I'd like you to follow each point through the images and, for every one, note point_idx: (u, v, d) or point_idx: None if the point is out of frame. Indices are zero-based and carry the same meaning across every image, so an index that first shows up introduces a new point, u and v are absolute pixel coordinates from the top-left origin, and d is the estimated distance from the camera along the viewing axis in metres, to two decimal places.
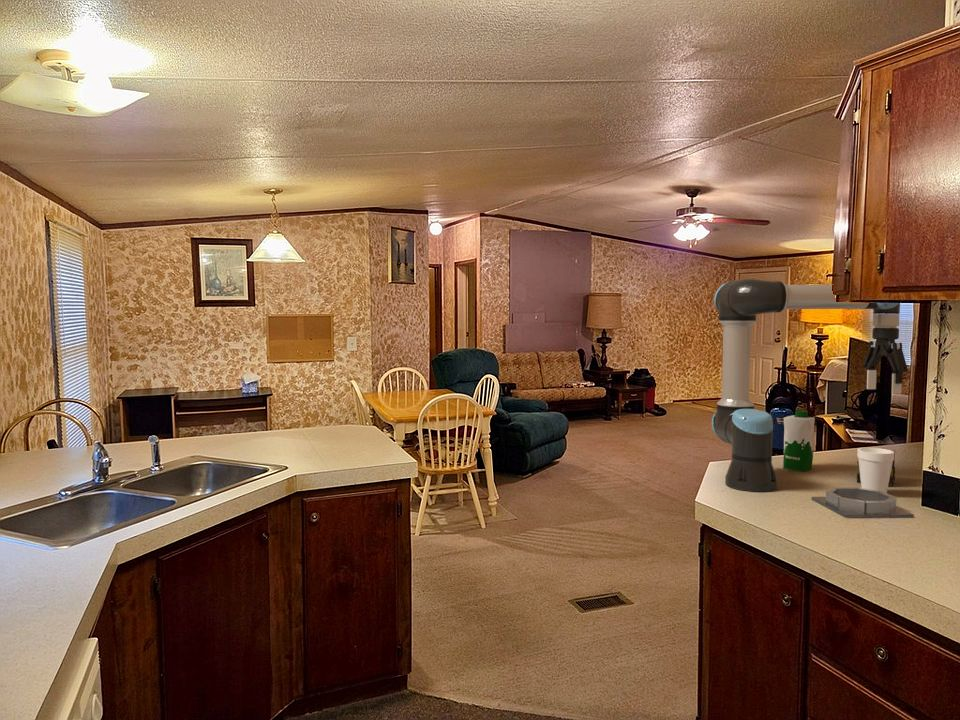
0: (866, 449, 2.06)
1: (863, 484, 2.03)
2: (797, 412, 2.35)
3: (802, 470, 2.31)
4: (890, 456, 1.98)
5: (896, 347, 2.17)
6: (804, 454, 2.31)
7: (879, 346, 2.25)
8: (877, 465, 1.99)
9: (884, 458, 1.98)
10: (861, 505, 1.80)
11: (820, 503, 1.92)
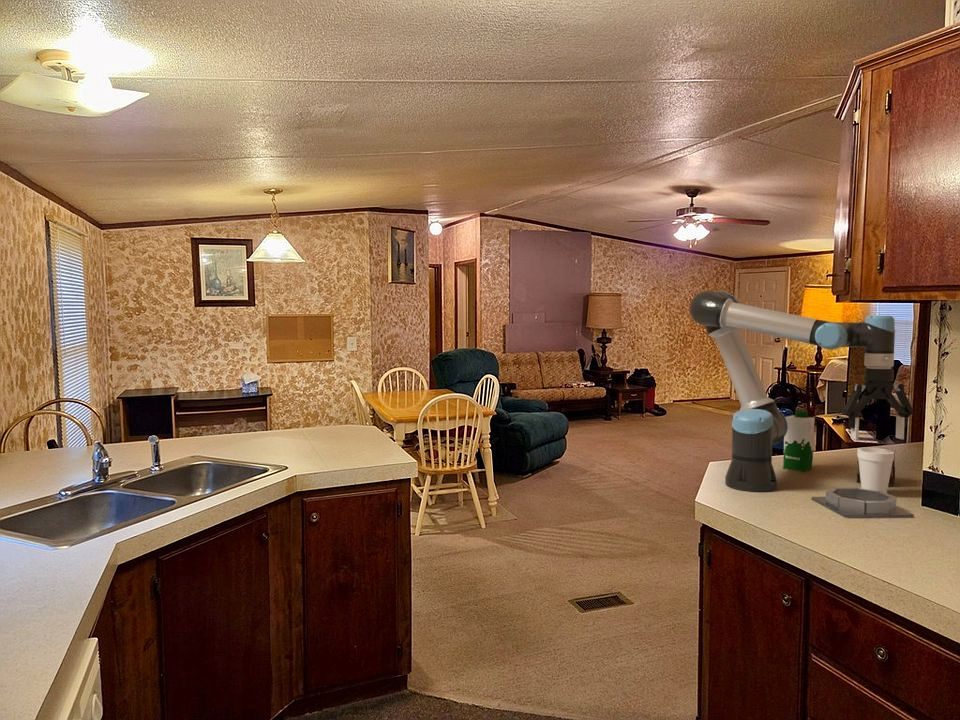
0: (866, 449, 2.06)
1: (863, 484, 2.03)
2: (797, 412, 2.35)
3: (802, 470, 2.31)
4: (890, 456, 1.98)
5: (854, 389, 2.02)
6: (804, 454, 2.31)
7: None
8: (877, 465, 1.99)
9: (884, 458, 1.98)
10: (861, 505, 1.80)
11: (820, 503, 1.92)
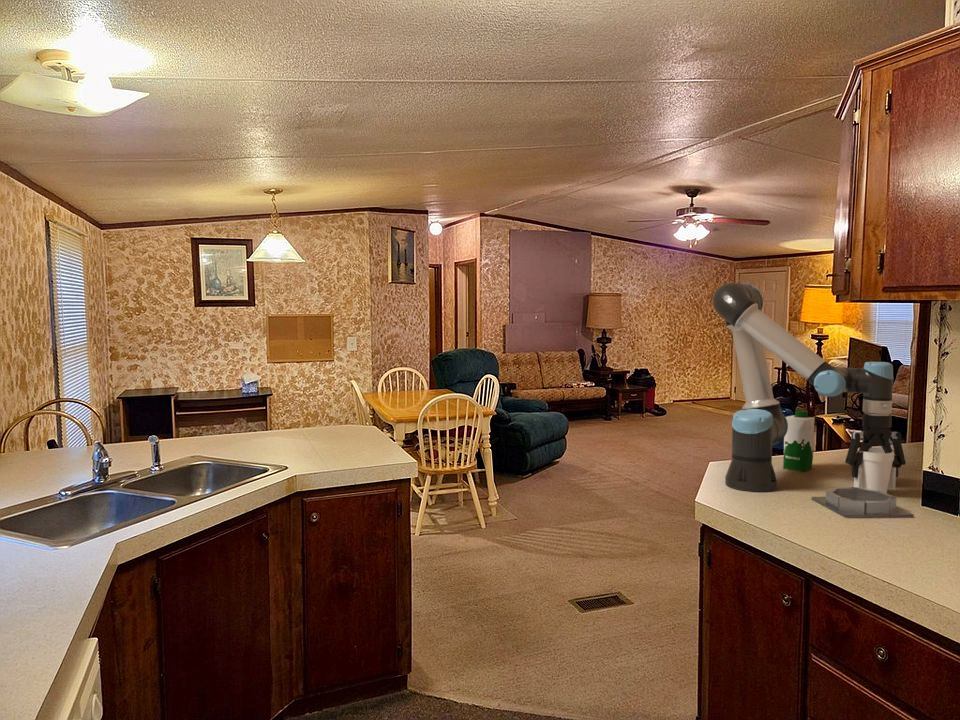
0: None
1: (863, 484, 2.03)
2: (797, 412, 2.35)
3: (802, 470, 2.31)
4: (890, 456, 1.98)
5: (852, 437, 2.03)
6: (804, 454, 2.31)
7: None
8: (877, 465, 1.99)
9: (884, 458, 1.98)
10: (861, 505, 1.80)
11: (820, 503, 1.92)
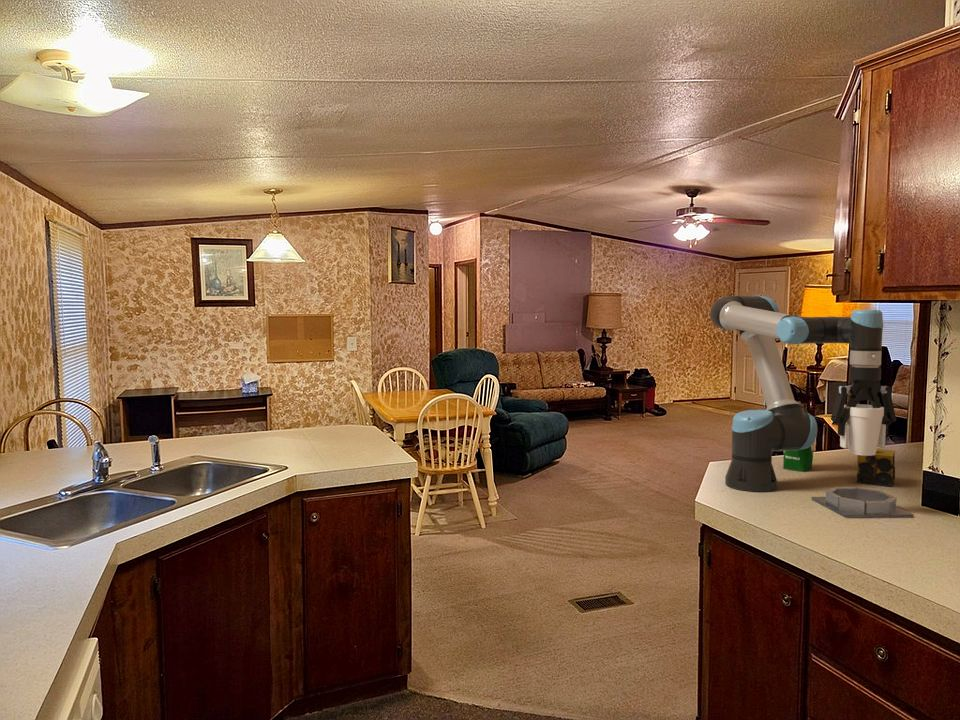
0: None
1: (850, 443, 1.86)
2: None
3: (802, 470, 2.31)
4: (879, 411, 1.82)
5: (838, 392, 1.86)
6: (804, 454, 2.31)
7: None
8: (865, 421, 1.82)
9: (873, 413, 1.82)
10: (861, 505, 1.80)
11: (820, 503, 1.92)
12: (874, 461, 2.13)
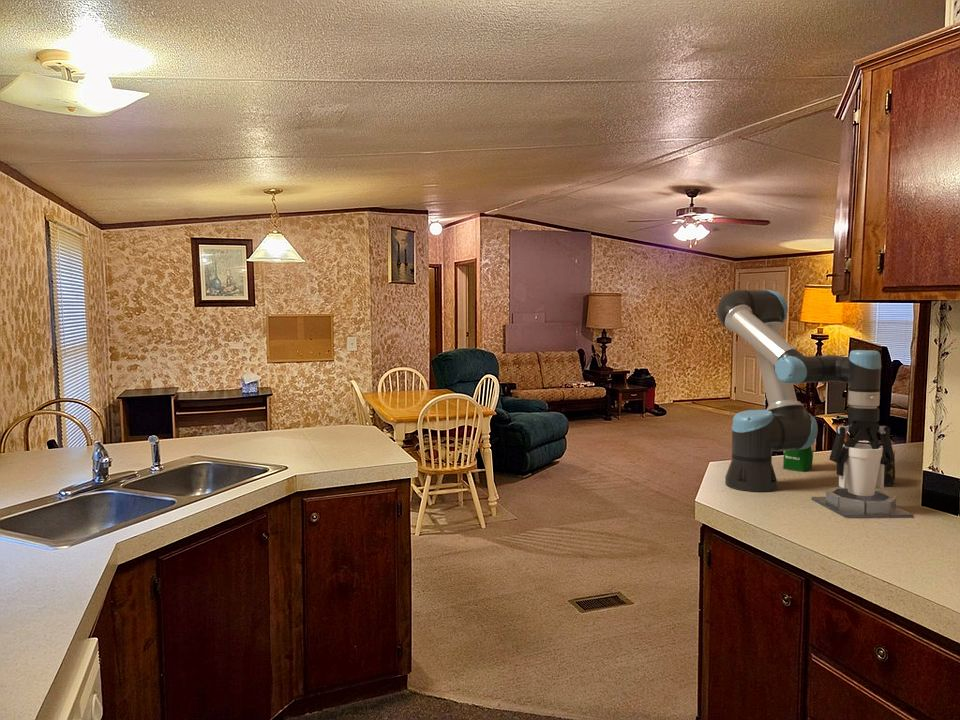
0: None
1: (849, 483, 1.87)
2: None
3: (802, 470, 2.31)
4: (878, 452, 1.83)
5: (837, 432, 1.87)
6: (804, 454, 2.31)
7: None
8: (864, 462, 1.83)
9: (871, 454, 1.82)
10: (861, 505, 1.80)
11: (820, 503, 1.92)
12: None
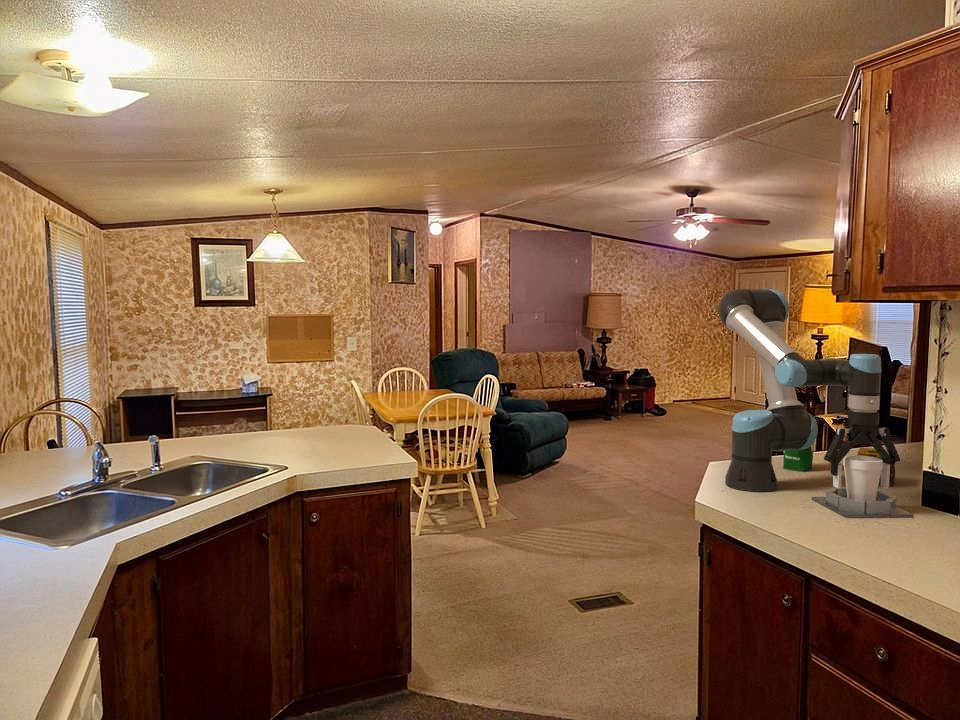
0: (853, 457, 1.91)
1: (849, 495, 1.88)
2: None
3: (802, 470, 2.31)
4: (878, 464, 1.83)
5: (836, 433, 1.87)
6: (804, 454, 2.31)
7: None
8: (864, 474, 1.84)
9: (871, 467, 1.83)
10: (861, 505, 1.80)
11: (820, 503, 1.92)
12: None
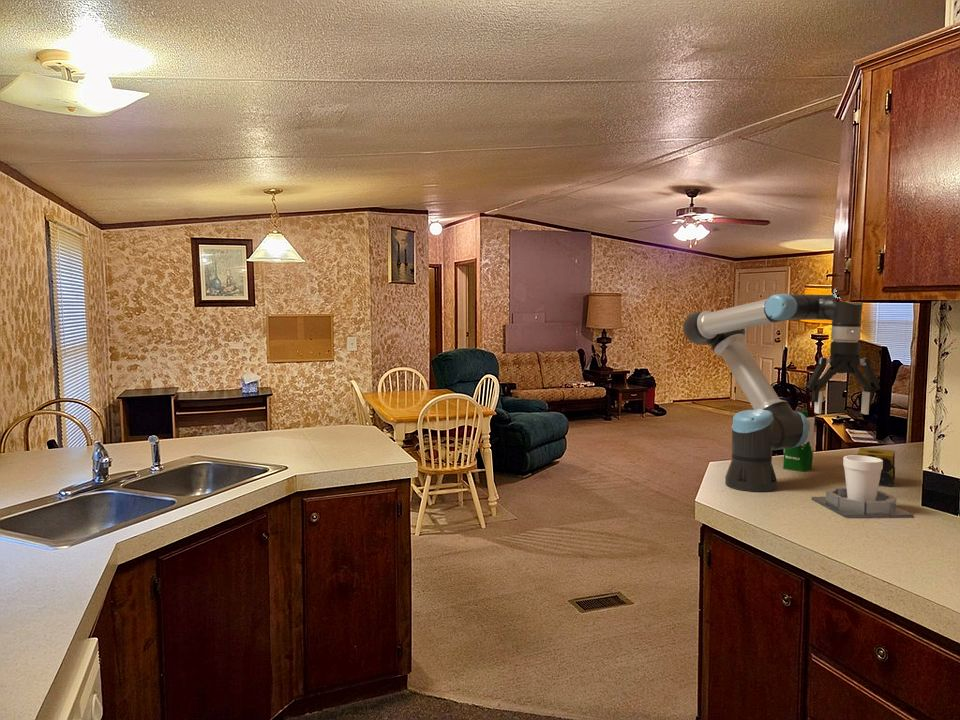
0: (853, 457, 1.91)
1: (849, 495, 1.88)
2: None
3: (802, 470, 2.31)
4: (878, 465, 1.83)
5: (819, 362, 1.98)
6: (804, 454, 2.31)
7: None
8: (864, 474, 1.83)
9: (871, 467, 1.83)
10: (861, 505, 1.80)
11: (820, 503, 1.92)
12: None
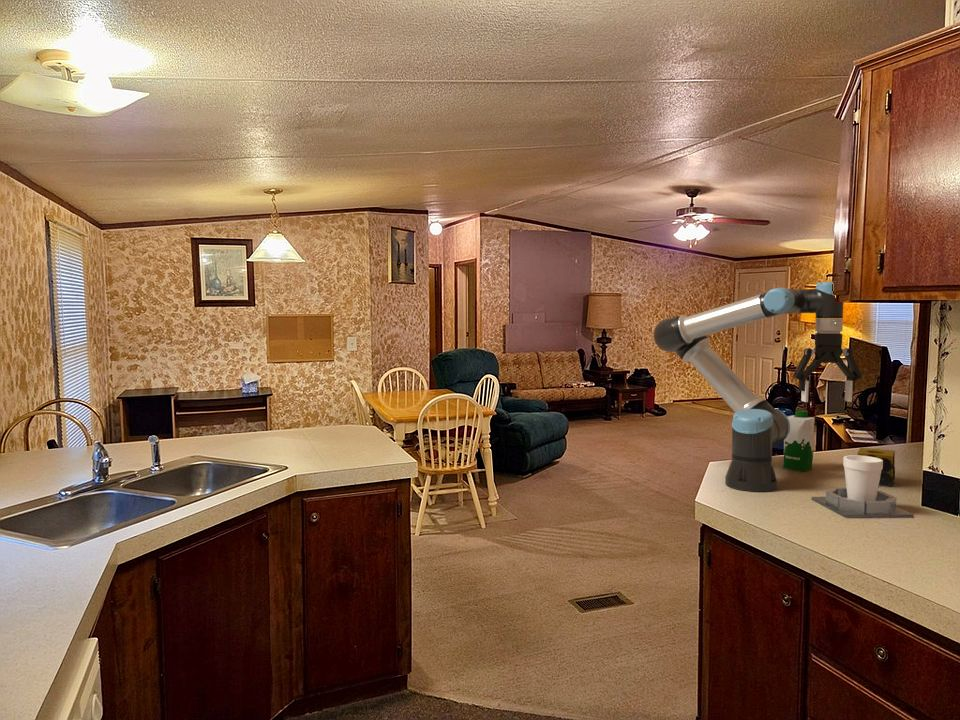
0: (853, 457, 1.91)
1: (849, 495, 1.88)
2: (797, 412, 2.35)
3: (802, 470, 2.31)
4: (878, 465, 1.83)
5: (804, 353, 2.09)
6: (804, 454, 2.31)
7: None
8: (864, 474, 1.83)
9: (871, 467, 1.83)
10: (861, 505, 1.80)
11: (820, 503, 1.92)
12: None
